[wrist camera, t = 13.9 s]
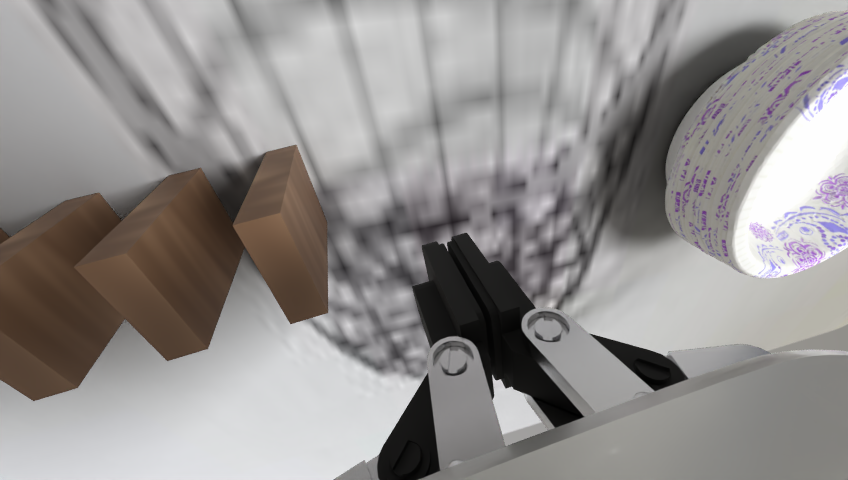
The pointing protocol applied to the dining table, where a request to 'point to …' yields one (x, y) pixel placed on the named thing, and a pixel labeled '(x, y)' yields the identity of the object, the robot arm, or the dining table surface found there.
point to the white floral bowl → (768, 156)
